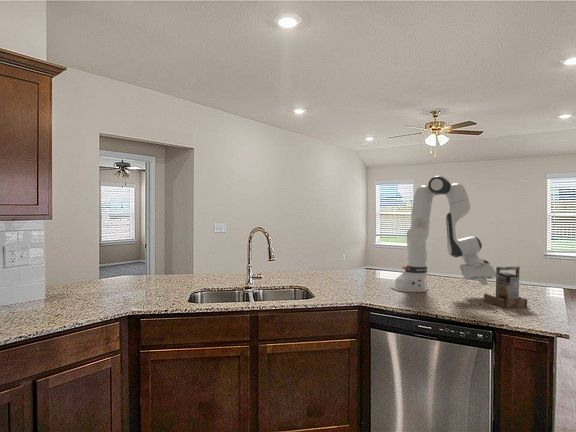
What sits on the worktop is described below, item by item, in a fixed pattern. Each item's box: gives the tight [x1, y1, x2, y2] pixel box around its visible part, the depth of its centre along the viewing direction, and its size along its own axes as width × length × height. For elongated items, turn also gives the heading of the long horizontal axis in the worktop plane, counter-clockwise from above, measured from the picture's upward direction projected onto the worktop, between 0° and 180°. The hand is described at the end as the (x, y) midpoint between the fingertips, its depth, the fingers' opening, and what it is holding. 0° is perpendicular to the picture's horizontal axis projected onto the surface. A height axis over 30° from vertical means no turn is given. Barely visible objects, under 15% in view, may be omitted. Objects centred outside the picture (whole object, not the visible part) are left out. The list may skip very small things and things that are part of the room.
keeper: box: [483, 266, 528, 309], centre depth 215 cm, size 13×15×20 cm
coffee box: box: [499, 272, 520, 300], centre depth 215 cm, size 9×6×16 cm
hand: (484, 284), depth 230 cm, fingers closed
